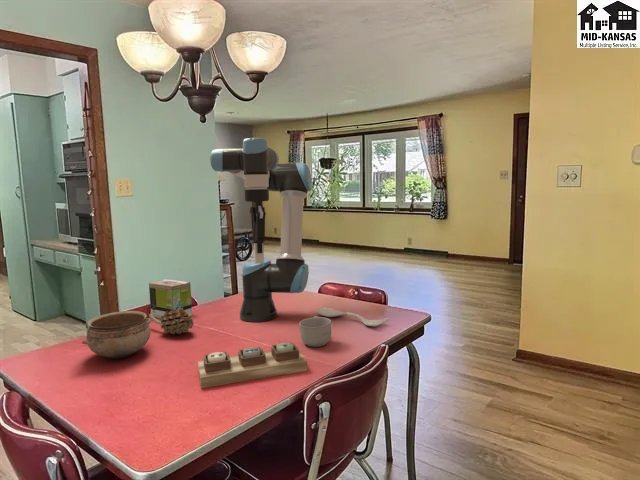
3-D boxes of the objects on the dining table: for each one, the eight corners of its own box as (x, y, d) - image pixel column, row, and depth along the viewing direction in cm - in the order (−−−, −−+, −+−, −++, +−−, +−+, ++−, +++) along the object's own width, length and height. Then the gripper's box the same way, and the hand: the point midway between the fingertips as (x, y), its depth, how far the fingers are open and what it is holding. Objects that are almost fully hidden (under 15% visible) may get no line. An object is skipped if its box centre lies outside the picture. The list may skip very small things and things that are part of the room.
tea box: (193, 315, 185) (191, 281, 183) (173, 322, 176) (171, 286, 174) (169, 310, 193) (167, 277, 191) (150, 316, 184) (147, 282, 182)
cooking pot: (106, 375, 127) (103, 335, 126) (65, 364, 136) (62, 326, 134) (171, 346, 150) (168, 311, 148) (132, 338, 158) (129, 305, 156)
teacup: (328, 350, 143) (328, 327, 142) (296, 348, 145) (295, 325, 144) (335, 336, 156) (335, 314, 155) (306, 334, 159) (305, 313, 158)
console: (198, 370, 129) (197, 352, 129) (295, 355, 139) (295, 339, 138) (201, 388, 118) (200, 368, 118) (307, 370, 128) (306, 352, 127)
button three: (242, 358, 130) (241, 348, 129) (258, 355, 131) (258, 345, 131) (244, 364, 125) (244, 354, 125) (262, 362, 127) (261, 351, 126)
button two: (207, 363, 127) (206, 353, 126) (225, 360, 128) (224, 350, 128) (208, 370, 122) (208, 359, 121) (227, 367, 123) (226, 356, 123)
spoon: (376, 332, 160) (376, 323, 160) (312, 316, 181) (312, 308, 181) (390, 326, 167) (390, 317, 166) (326, 311, 188) (326, 303, 187)
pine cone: (201, 332, 164) (200, 306, 162) (184, 340, 155) (182, 313, 154) (156, 325, 172) (154, 301, 171) (137, 333, 163) (135, 307, 162)
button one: (275, 353, 133) (274, 343, 133) (290, 351, 135) (290, 341, 134) (278, 359, 128) (278, 349, 128) (295, 357, 130) (295, 347, 130)
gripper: (241, 188, 142) (244, 260, 145) (248, 189, 130) (251, 267, 133) (264, 188, 144) (266, 258, 147) (273, 188, 132) (275, 265, 135)
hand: (259, 262), depth 140 cm, fingers closed
